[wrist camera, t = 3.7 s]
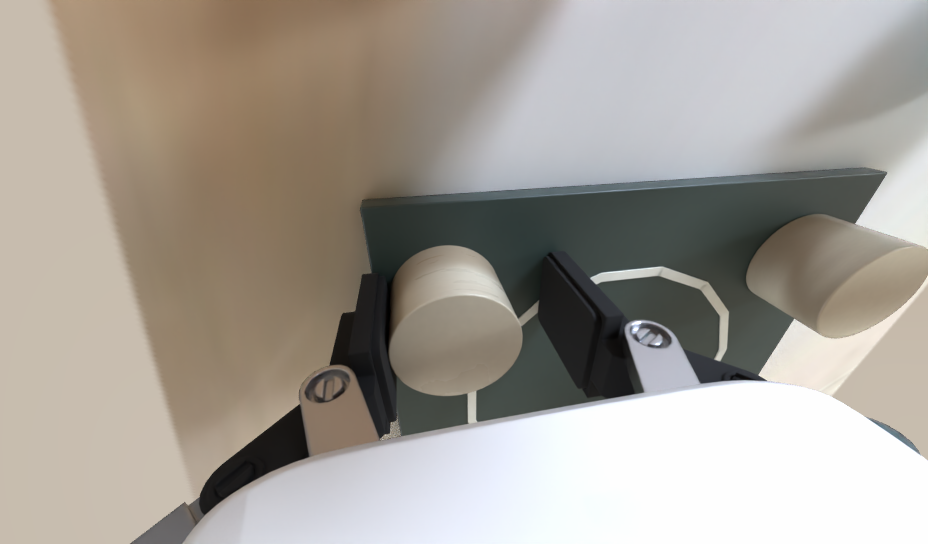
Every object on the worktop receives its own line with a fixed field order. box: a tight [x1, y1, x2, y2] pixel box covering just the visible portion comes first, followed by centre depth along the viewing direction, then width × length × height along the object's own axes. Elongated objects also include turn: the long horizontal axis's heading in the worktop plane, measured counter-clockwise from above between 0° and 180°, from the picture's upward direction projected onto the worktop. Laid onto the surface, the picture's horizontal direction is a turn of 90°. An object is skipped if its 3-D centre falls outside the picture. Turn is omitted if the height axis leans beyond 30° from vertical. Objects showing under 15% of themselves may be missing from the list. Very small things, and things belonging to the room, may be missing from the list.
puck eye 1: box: [388, 245, 523, 396], centre depth 11 cm, size 4×4×3 cm
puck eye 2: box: [746, 214, 928, 338], centre depth 13 cm, size 4×4×3 cm
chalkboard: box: [360, 168, 887, 436], centre depth 16 cm, size 18×20×1 cm
